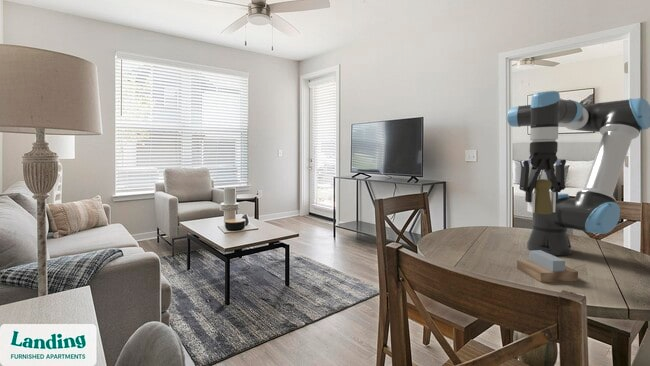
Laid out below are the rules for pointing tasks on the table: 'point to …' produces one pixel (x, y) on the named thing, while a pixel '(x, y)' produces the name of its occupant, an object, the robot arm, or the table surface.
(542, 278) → the wooden flat board
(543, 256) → the slate-grey block
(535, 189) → the olive ball-ended rod
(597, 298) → the table surface
